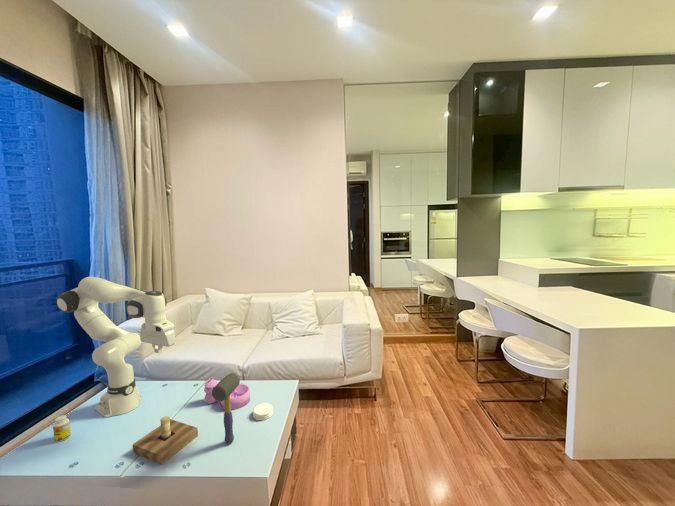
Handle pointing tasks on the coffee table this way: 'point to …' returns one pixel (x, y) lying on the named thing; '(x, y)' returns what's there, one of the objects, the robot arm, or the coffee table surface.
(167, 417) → the maple dowel
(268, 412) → the cream round disc
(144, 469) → the coffee table surface
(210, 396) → the container set
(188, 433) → the walnut board
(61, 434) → the supplement bottle
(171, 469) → the coffee table surface
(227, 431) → the rubber mallet
